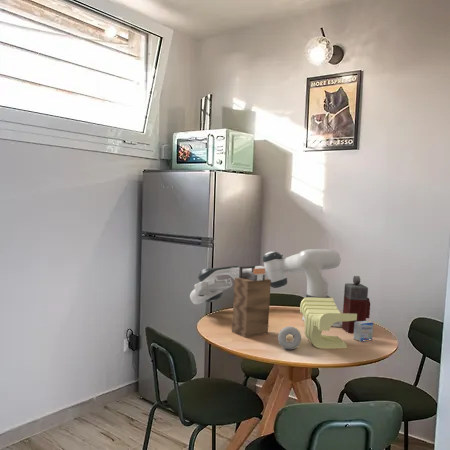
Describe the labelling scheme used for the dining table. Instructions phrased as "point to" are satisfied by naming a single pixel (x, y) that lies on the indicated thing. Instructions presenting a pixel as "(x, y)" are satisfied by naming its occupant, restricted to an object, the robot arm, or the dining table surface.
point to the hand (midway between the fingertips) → (222, 280)
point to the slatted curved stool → (323, 321)
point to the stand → (250, 304)
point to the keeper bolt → (250, 272)
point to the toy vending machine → (355, 303)
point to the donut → (294, 342)
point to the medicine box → (363, 330)
